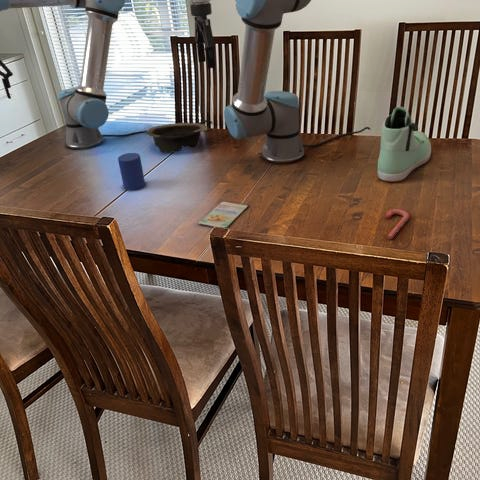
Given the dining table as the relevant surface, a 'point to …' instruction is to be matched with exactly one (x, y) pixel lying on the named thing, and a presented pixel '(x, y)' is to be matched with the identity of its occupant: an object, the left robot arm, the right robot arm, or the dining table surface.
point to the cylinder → (131, 171)
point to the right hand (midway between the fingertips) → (206, 64)
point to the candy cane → (399, 221)
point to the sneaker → (401, 146)
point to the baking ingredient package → (223, 214)
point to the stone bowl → (176, 136)
